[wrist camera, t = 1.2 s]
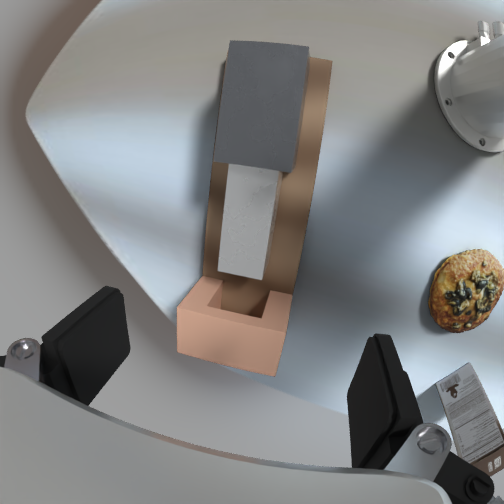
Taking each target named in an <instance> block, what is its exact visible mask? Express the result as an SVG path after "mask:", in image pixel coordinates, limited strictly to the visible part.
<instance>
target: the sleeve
mask: <svg viewBox="0 0 504 504" xmlns="http://www.w3.org/2000/svg"><path fill="white" fill-rule="evenodd" d="M309 69H310V58H309V47H306V46H299V45H290V44H281V43H270V42H255V41H230V44H229V50H228V56H227V62H226V69H225V75H224V82H223V89H222V96H221V103H220V111H219V118H218V126H217V134H216V142H215V151H214V159H213V162H221V163H229V164H236V165H244V166H251V167H257V168H264V169H270V170H276V171H283V172H288V173H291V172H292V171H293V170H294V169H295V167H296V161H297V154H298V148H299V141H300V134H301V127H302V121H303V114H304V107H305V99H306V92H307V85H308V77H309Z"/></svg>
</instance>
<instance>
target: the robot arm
mask: <svg viewBox="0 0 504 504" xmlns="http://www.w3.org/2000/svg"><path fill="white" fill-rule="evenodd" d="M478 32H479V38H477V40H475V41H469V40H464V41H458V42H455V43H453V44H451V45H450V46H448V47H447V48H446V49H445V50H444V51H443V52H442V53H441V54H440V56H439V58H438V60H437V63H436V67H435V77H434V81H435V91H436V94H437V98H438V102H439V104H440V107H441V109H442V112H443V114H444V116H445V117H446V119H447V121H448V123H449V124H450V125H451V127H452V128H453V130H454V131H455V132H456V133H457V134H458V135H459V136H460V137H461V138H462V139H463V140H464V141H465V142H467V143H468V144H469V145H471V146H473V147H475V148H477V149H479V150H483V151H487V152H501V151H504V23H501V22H497V21H496V22H493V32H494V38H495V39H493V40H491V41H490V29H489V24H488V23H486V22H484V21H479V22H478ZM448 56H449V57H448ZM445 101H446V102H447V105H446V103H445ZM479 141H480V143H479ZM42 341H43V343H42V344H41V345H40V344H39V343H38V341H37V340H35V339H32V338H23V339H19V340H17V341H15V342H13V343H12V344H11V345H10V346H9V348H8V350H7V355H5V356H0V504H504V501H503V500H502V499H501V498H500V496H497V497H496V498H495V497H494V496H493V494H494V484H493V481H492V479H491V478H490V476H489V475H487V474H486V473H485V472H483V471H481V470H480V469H478V468H476V467H475V466H473V465H471V464H470V463H468V462H467V461H465V460H463V459H462V458H460V457H458V456H457V455H455V454H454V453H452V452H451V451H450V449H451V445H452V443H451V438H450V435H449V434H448V432H447V431H446V430H445V429H444V428H442V427H441V426H439V425H436V424H432V423H423V420H422V417H421V413H420V410H419V407H418V404H417V401H416V398H415V395H414V391H413V388H412V386H411V383H410V380H409V377H408V374H407V372H405V371H403V368H402V365H401V362H400V359H399V357H398V354H397V351H396V348H395V346H394V343H393V340H392V338H391V336H390V335H386V334H374V336H373V337H369V338H368V340H367V343H366V346H365V348H364V351H363V354H362V356H361V359H360V362H359V364H358V367H357V370H356V372H355V375H354V377H353V380H352V382H351V384H350V387H349V389H348V393H347V403H348V415H349V427H350V441H351V457H352V468H342V467H326V466H314V465H304V464H295V463H286V462H279V461H271V460H265V459H258V458H253V457H247V456H242V455H237V454H232V453H228V452H223V451H218V450H214V449H210V448H206V447H202V446H198V445H194V444H190V443H187V442H184V441H180V440H176V439H173V438H170V437H167V436H164V435H161V434H158V433H155V432H152V431H149V430H146V429H143V428H140V427H138V426H135V425H132V424H130V423H127V422H124V421H122V420H119V419H117V418H115V417H112V416H110V415H107V414H105V413H103V412H100V411H98V410H96V409H94V408H91V407H89V404H90V403H91V402H92V400H93V399H94V398H95V397H96V395H97V394H98V393H99V391H100V390H101V389H102V387H103V386H104V385H105V384H106V383H107V381H108V380H109V379H110V378H111V376H112V375H113V374H114V372H115V371H116V370H117V369H118V367H119V366H120V365H121V364H122V362H123V361H124V360H125V359H126V357H127V356H128V355H129V353H130V342H129V335H128V329H127V322H126V314H125V306H124V297H123V294H122V293H120V290H119V289H117V288H113V287H109V286H105V287H103V288H102V289H101V290H99V291H98V292H96V293H95V294H94V295H93V296H92V297H90V298H89V299H87V300H86V301H85V302H84V303H82V304H81V305H80V306H79V307H77V308H76V309H75V310H74V311H72V312H71V313H70V314H69V315H67V316H66V317H65V318H64V319H62V320H61V321H60V322H59V323H58V324H56V325H55V326H54V327H53V328H52V329H50V330H49V331H48V332H47V333H45V334H44V335H43V336H42Z"/></svg>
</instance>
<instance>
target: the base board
mask: <svg viewBox="0 0 504 504" xmlns="http://www.w3.org/2000/svg"><path fill="white" fill-rule="evenodd" d="M227 56H228V52H227ZM309 58H310V69H309V77H308V85H307V92H306V99H305V107H304V114H303V121H302V127H301V134H300V141H299V148H298V154H297V161H296V167H295V169H294V170H293V171H292V172H291V173H288V172H283V175H282V182H281V188H280V195H279V201H278V208H277V214H276V220H275V227H274V233H273V239H272V245H271V251H270V257H269V263H268V266H267V268H266V271H265V273H264V276H263V279H262V280H259V279H254V278H249V277H244V276H239V275H235V274H230V273H225V272H220V271H218V261H219V251H220V241H221V231H222V221H223V212H224V203H225V194H226V185H227V176H228V168H229V163H221V162H213V163H212V172H211V181H210V191H209V201H208V212H207V223H206V235H205V248H204V261H203V276H205V277H210V278H214V279H219V280H223V288H222V299H221V310H226V311H230V312H234V313H239V314H243V315H248V316H252V317H257V318H262V316H263V313H264V310H265V306H266V303H267V300H268V297H269V293H270V290H271V291H276V292H281V293H286V294H291V295H293V291H294V286H295V281H296V277H297V272H298V267H299V262H300V258H301V253H302V248H303V243H304V238H305V233H306V227H307V222H308V217H309V212H310V206H311V201H312V195H313V189H314V184H315V178H316V172H317V166H318V160H319V154H320V147H321V141H322V135H323V128H324V121H325V114H326V107H327V100H328V92H329V84H330V77H331V68H332V61H330V60H324V59H319V58H312V57H309ZM226 62H227V58H226ZM225 69H226V65H225ZM224 75H225V71H224ZM223 82H224V78H223ZM222 89H223V85H222ZM221 96H222V92H221ZM220 103H221V99H220ZM219 111H220V106H219ZM218 118H219V113H218ZM217 126H218V121H217ZM216 134H217V129H216ZM215 142H216V137H215ZM214 151H215V145H214ZM213 159H214V154H213Z"/></svg>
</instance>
